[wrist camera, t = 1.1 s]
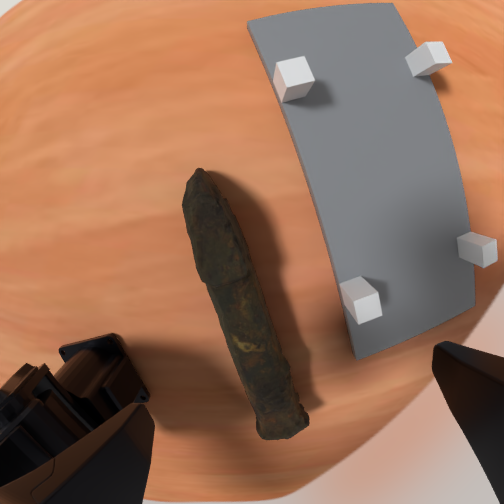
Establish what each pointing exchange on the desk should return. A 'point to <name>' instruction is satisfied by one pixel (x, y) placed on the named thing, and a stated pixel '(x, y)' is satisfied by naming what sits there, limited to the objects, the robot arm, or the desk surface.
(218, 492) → the desk surface
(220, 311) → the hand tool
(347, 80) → the plate
